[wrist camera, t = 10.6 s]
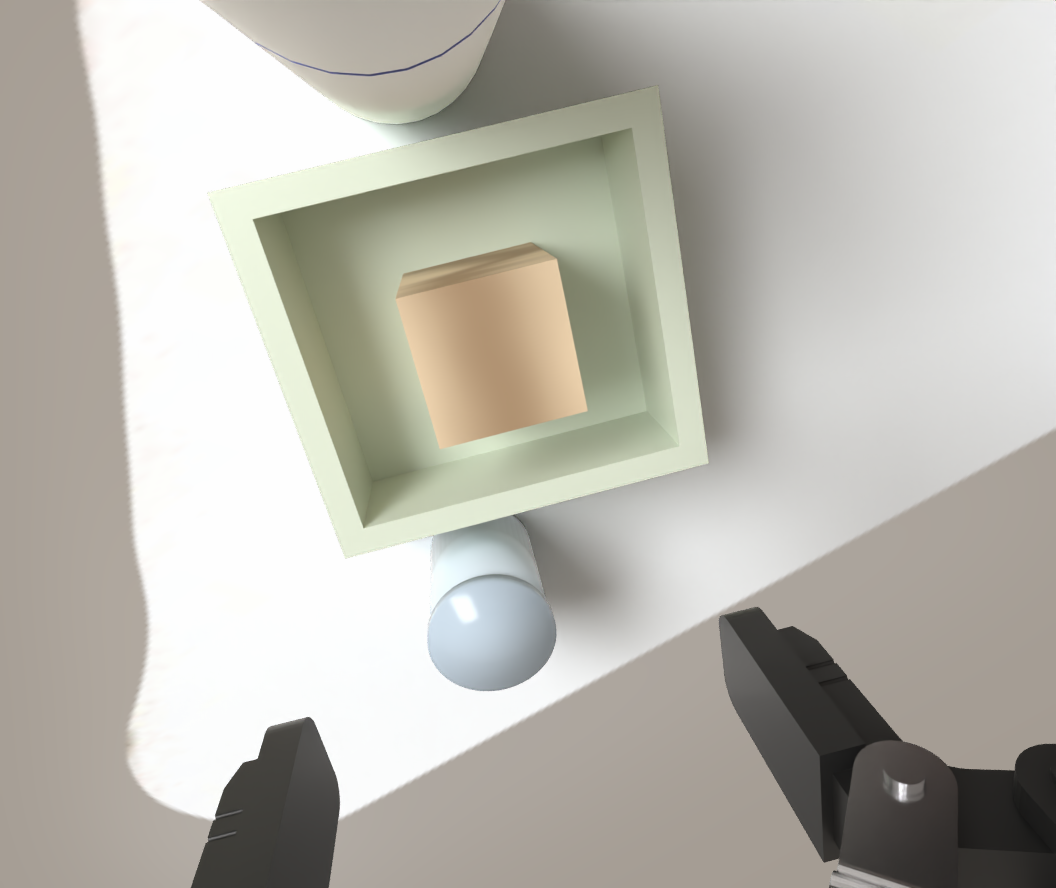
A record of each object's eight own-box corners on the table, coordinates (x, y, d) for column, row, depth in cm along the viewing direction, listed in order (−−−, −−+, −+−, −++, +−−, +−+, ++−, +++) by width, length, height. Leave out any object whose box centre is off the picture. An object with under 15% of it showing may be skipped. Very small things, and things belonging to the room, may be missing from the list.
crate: (617, 101, 26) (658, 84, 21) (667, 420, 31) (708, 463, 26) (248, 190, 25) (207, 193, 21) (358, 500, 30) (345, 558, 25)
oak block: (530, 242, 26) (556, 258, 21) (557, 365, 28) (587, 410, 23) (403, 273, 26) (395, 299, 21) (438, 396, 28) (439, 449, 22)
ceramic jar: (520, 491, 31) (541, 568, 25) (542, 580, 33) (567, 672, 27) (415, 518, 31) (412, 602, 25) (443, 606, 33) (446, 704, 26)
